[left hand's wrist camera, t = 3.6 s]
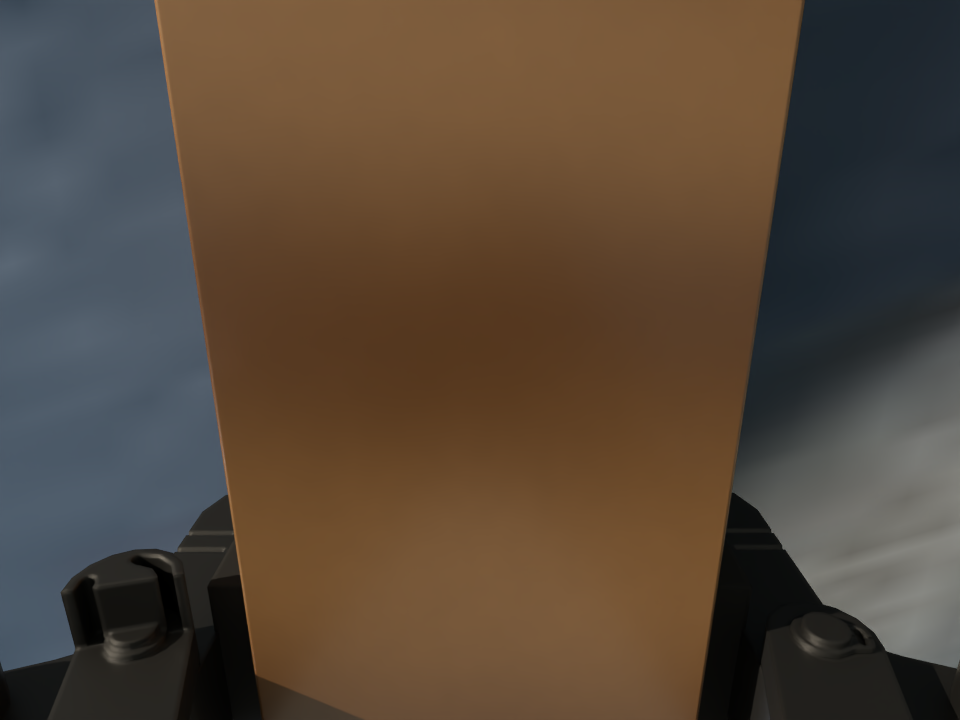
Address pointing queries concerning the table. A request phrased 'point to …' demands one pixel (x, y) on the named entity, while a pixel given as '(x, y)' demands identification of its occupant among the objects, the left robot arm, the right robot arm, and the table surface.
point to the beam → (479, 336)
